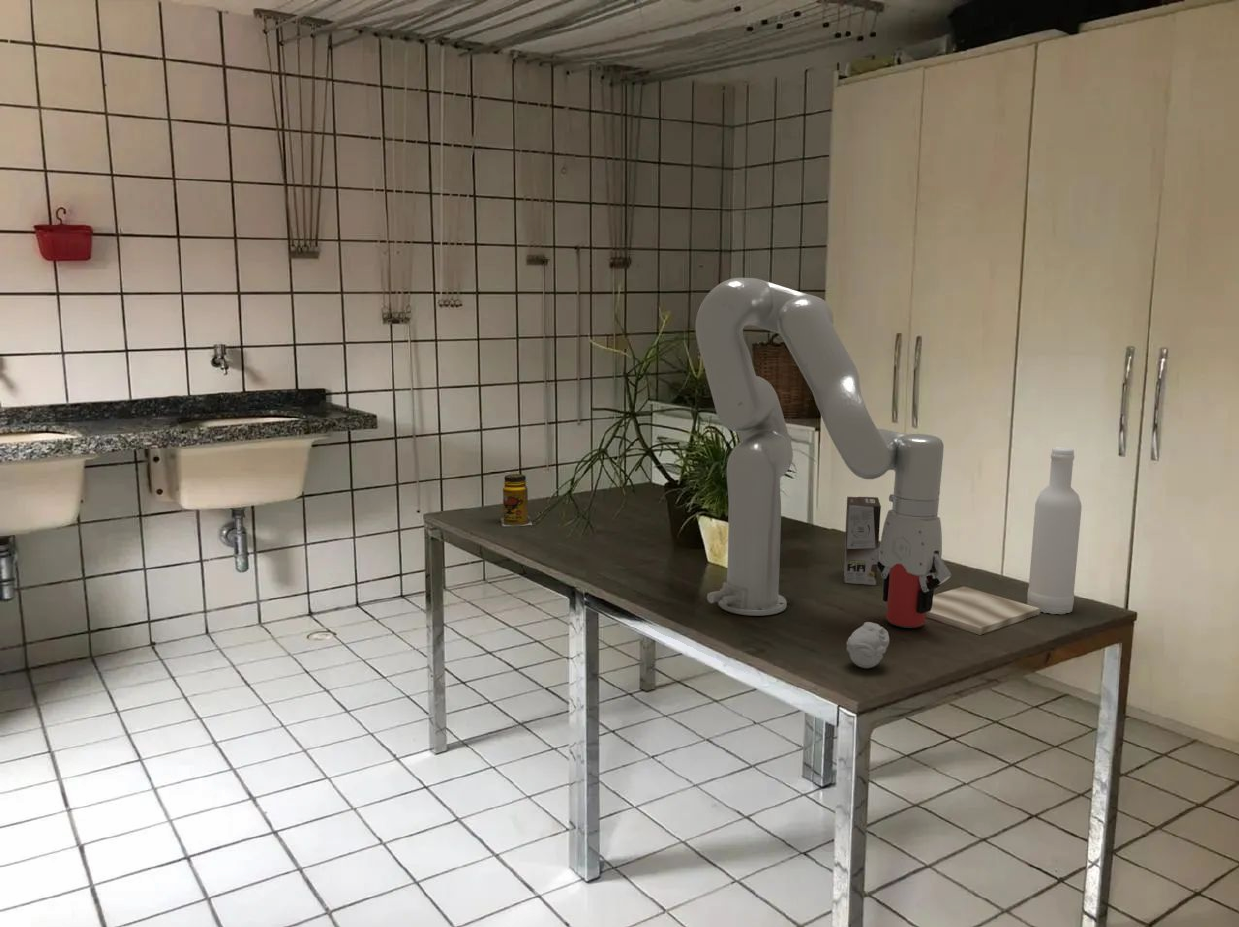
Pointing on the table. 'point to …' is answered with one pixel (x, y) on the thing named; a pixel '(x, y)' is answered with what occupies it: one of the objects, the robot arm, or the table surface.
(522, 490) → the condiment
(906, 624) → the beer can
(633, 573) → the table surface
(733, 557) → the robot arm
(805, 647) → the table surface
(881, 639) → the frog figurine
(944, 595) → the birch board
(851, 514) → the coffee box
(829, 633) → the table surface
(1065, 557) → the bottle
